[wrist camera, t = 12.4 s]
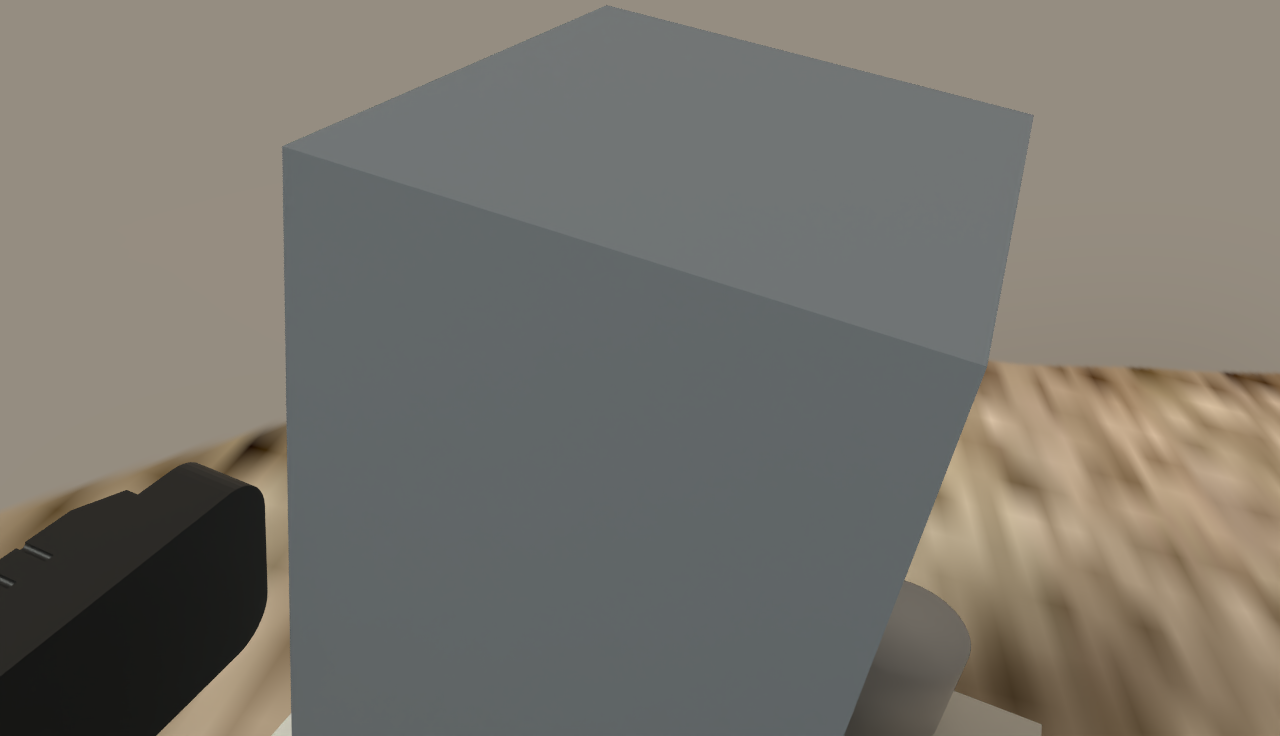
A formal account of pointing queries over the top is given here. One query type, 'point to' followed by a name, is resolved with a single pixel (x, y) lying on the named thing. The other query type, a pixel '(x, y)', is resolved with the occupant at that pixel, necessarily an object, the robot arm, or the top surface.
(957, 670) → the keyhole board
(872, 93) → the tall grey pillar
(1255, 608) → the top surface
